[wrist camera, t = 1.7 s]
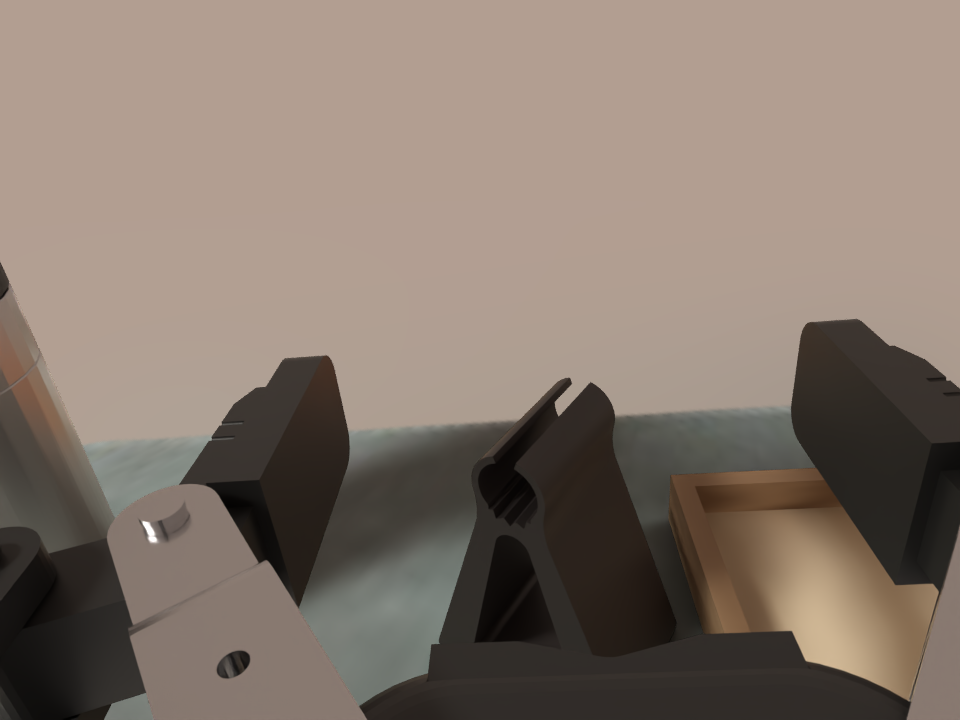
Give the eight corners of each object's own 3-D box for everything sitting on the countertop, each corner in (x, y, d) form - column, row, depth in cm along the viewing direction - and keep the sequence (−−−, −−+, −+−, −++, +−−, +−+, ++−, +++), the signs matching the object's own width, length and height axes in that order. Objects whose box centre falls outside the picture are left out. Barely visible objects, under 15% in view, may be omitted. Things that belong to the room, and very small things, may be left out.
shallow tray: (758, 810, 24) (767, 758, 22) (668, 519, 37) (670, 474, 35) (1220, 804, 22) (1261, 749, 21) (957, 506, 36) (971, 460, 34)
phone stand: (439, 646, 31) (401, 428, 25) (507, 561, 35) (487, 358, 30) (624, 741, 26) (628, 499, 21) (677, 630, 31) (692, 404, 25)
